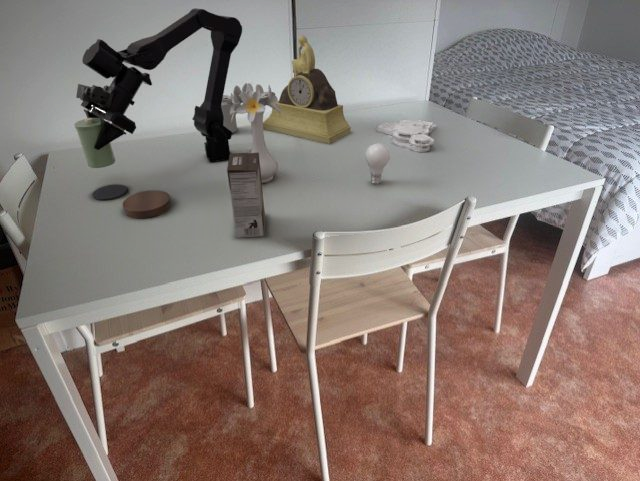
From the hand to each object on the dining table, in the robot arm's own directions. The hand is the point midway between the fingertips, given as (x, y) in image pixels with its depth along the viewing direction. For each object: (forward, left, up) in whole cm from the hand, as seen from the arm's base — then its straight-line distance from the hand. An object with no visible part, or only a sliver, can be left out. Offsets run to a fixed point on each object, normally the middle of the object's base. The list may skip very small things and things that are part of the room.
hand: (90, 145), depth 109 cm
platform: (-10, +11, -13) cm, 20 cm away
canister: (-1, -1, -5) cm, 5 cm away
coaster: (-1, -1, -13) cm, 13 cm away
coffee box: (-32, +30, -13) cm, 46 cm away
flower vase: (-40, +5, -13) cm, 42 cm away
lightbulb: (-68, +20, -13) cm, 72 cm away
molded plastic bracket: (-94, -9, -13) cm, 95 cm away
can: (-38, -36, -13) cm, 54 cm away
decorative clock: (-64, -27, -13) cm, 71 cm away
